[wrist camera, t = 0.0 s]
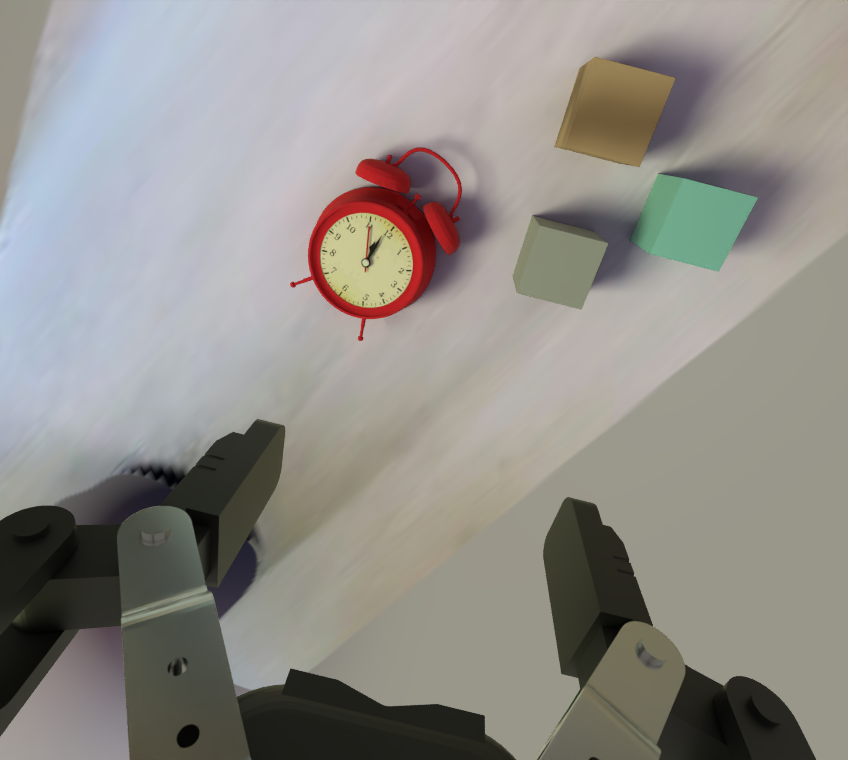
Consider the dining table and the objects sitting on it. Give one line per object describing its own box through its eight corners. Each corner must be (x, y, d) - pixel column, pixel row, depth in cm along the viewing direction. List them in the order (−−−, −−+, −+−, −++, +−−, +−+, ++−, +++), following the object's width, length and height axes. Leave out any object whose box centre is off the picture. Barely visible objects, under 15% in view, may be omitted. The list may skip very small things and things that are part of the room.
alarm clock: (269, 279, 38) (365, 119, 29) (303, 251, 43) (394, 105, 34) (370, 358, 40) (488, 231, 31) (392, 322, 45) (499, 203, 36)
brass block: (579, 68, 33) (595, 56, 28) (649, 86, 33) (675, 77, 28) (554, 146, 35) (565, 147, 30) (619, 163, 35) (639, 166, 30)
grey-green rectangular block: (532, 215, 37) (539, 225, 33) (592, 231, 37) (608, 243, 33) (512, 275, 40) (517, 293, 35) (569, 290, 40) (581, 309, 35)
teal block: (658, 173, 35) (684, 178, 31) (722, 190, 35) (758, 197, 31) (629, 240, 37) (649, 253, 33) (690, 256, 37) (718, 271, 33)
